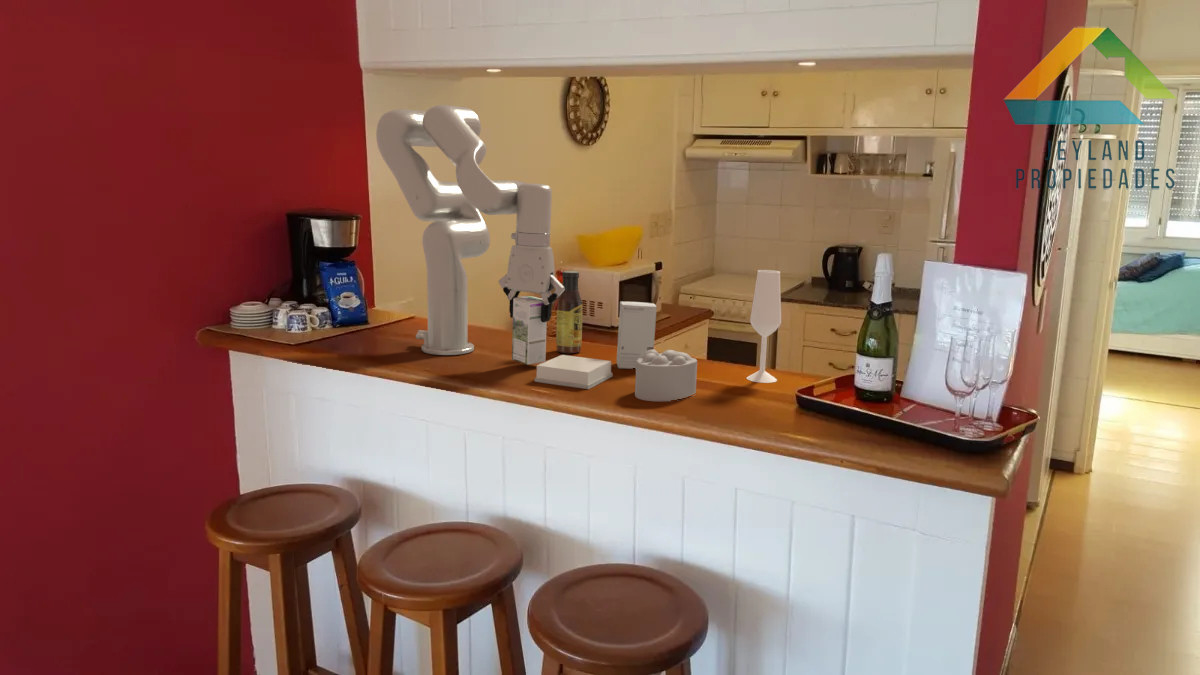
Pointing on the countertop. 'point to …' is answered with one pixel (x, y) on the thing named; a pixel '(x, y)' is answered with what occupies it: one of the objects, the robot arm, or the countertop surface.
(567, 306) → the sauce bottle
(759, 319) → the champagne flute
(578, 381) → the cream square tile
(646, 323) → the skincare box
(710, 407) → the countertop surface
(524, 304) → the syrup box
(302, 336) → the countertop surface
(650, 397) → the lumpy-topped squat cylinder
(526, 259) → the robot arm
